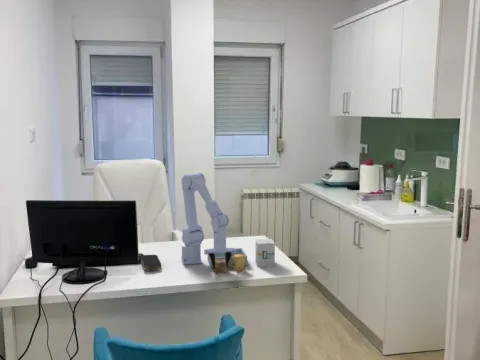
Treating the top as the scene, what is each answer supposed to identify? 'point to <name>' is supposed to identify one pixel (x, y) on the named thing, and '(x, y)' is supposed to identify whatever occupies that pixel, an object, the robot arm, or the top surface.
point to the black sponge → (151, 262)
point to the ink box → (265, 253)
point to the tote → (231, 261)
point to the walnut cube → (220, 266)
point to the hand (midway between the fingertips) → (220, 268)
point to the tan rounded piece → (239, 263)
